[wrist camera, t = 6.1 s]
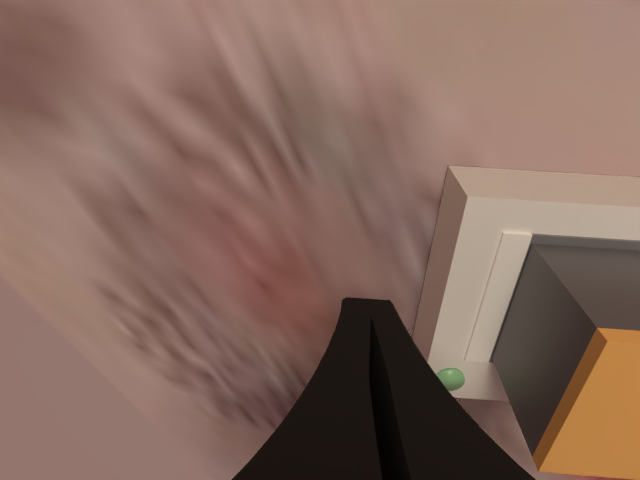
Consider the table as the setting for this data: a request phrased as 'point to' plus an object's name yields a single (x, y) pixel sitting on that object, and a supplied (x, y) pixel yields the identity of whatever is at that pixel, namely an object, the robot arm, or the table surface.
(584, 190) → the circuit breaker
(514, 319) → the knob
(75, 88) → the table surface
